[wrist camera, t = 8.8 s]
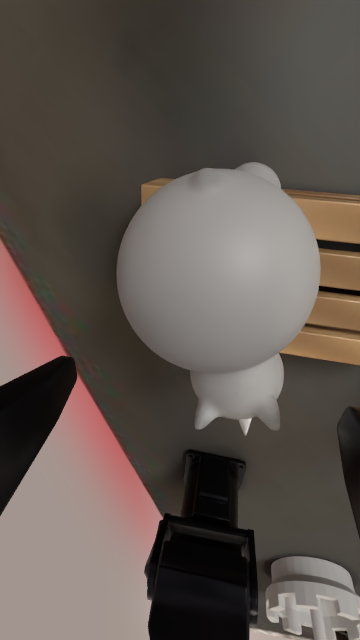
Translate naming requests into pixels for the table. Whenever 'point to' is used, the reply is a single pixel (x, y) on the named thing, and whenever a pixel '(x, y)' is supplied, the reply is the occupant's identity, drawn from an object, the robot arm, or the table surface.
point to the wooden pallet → (324, 275)
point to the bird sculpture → (341, 636)
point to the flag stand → (313, 597)
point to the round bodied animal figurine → (221, 285)
